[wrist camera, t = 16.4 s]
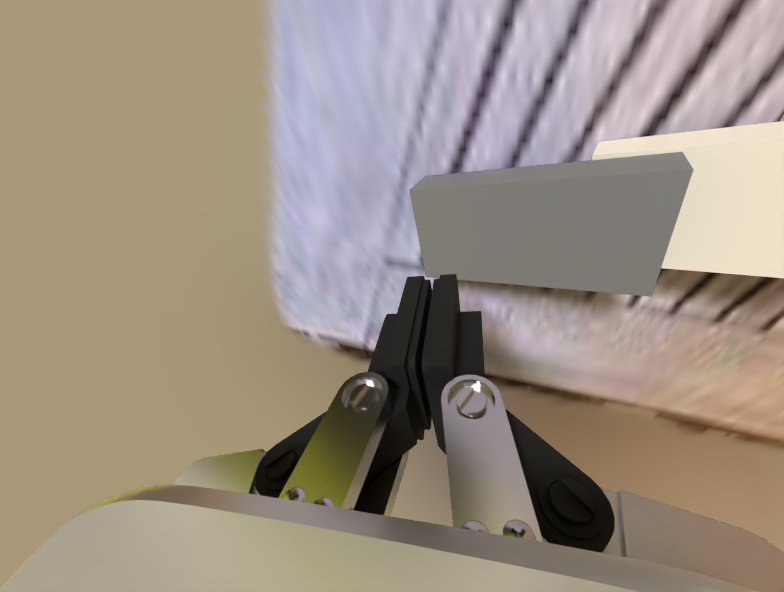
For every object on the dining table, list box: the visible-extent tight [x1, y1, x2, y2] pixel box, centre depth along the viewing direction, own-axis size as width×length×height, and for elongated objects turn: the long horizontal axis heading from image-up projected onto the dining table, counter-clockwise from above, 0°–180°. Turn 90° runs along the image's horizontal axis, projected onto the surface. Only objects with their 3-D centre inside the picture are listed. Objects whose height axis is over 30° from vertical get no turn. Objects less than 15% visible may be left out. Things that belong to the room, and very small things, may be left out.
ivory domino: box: [592, 121, 784, 278], centre depth 11 cm, size 2×5×10 cm
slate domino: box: [410, 152, 694, 296], centre depth 14 cm, size 2×5×10 cm
